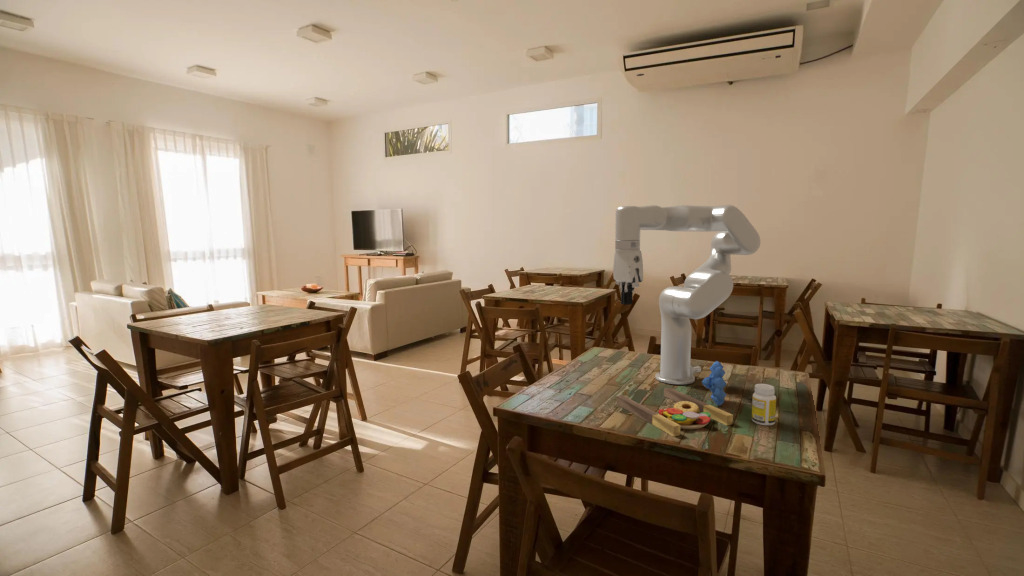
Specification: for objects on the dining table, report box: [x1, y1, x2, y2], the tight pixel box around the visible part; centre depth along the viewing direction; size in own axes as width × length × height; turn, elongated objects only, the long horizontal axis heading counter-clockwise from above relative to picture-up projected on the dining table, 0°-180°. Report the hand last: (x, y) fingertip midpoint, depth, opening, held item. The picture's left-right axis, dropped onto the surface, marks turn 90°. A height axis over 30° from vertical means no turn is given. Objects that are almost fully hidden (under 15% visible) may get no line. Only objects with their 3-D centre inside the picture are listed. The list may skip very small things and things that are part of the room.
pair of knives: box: [616, 387, 734, 437], centre depth 129 cm, size 19×24×2 cm
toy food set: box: [657, 401, 712, 430], centre depth 124 cm, size 13×13×3 cm
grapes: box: [701, 360, 727, 406], centre depth 137 cm, size 12×7×12 cm, turn 166°
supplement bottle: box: [751, 383, 777, 426], centre depth 122 cm, size 6×5×10 cm
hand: (626, 304), depth 149 cm, fingers closed
